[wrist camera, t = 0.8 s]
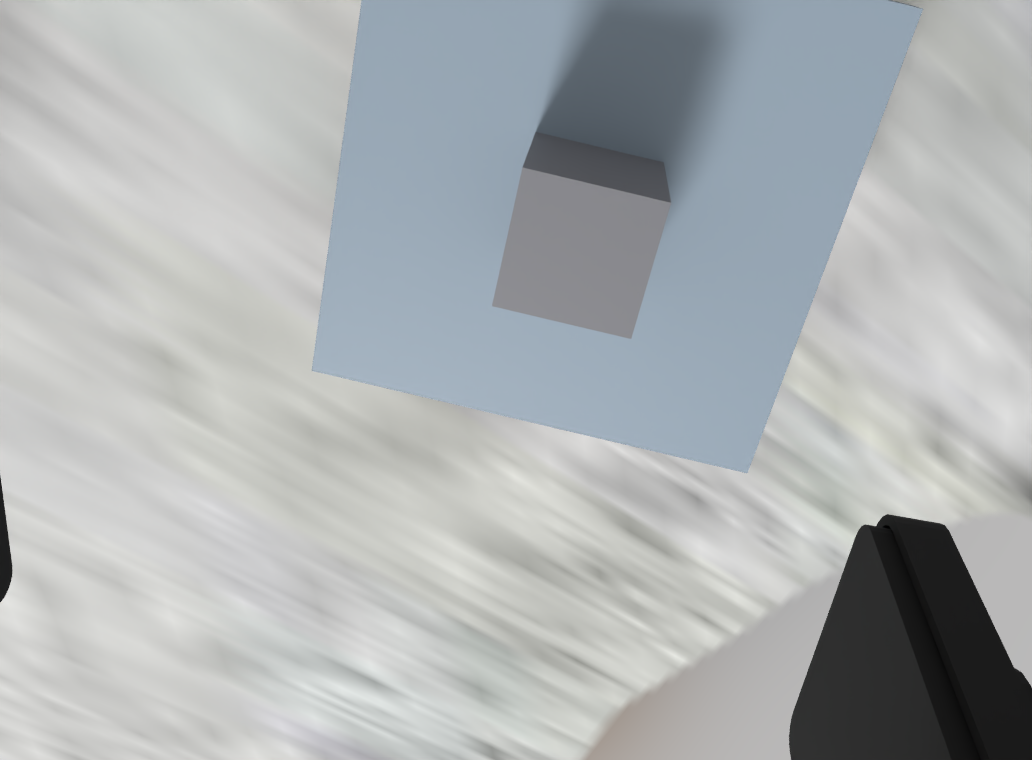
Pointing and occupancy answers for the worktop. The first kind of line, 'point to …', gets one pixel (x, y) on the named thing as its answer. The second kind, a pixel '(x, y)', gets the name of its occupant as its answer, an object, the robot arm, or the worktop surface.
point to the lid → (599, 205)
